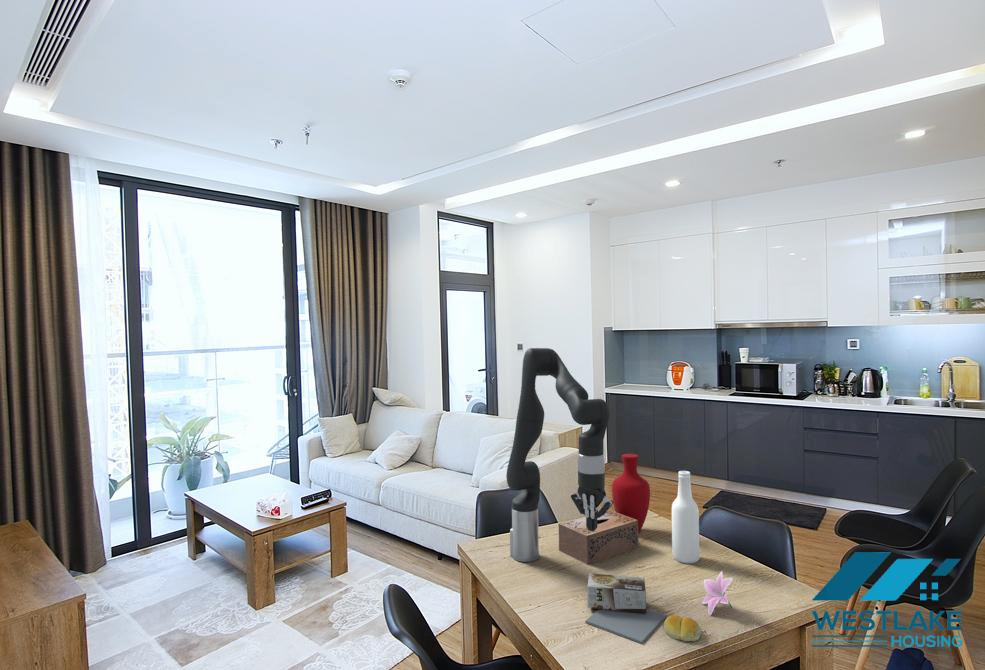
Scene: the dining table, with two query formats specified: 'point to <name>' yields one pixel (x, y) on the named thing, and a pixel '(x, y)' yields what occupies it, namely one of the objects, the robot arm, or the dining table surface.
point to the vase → (631, 491)
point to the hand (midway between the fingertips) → (592, 530)
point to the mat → (627, 623)
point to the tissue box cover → (598, 537)
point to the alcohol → (685, 523)
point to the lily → (716, 592)
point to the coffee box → (617, 593)
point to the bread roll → (682, 628)
